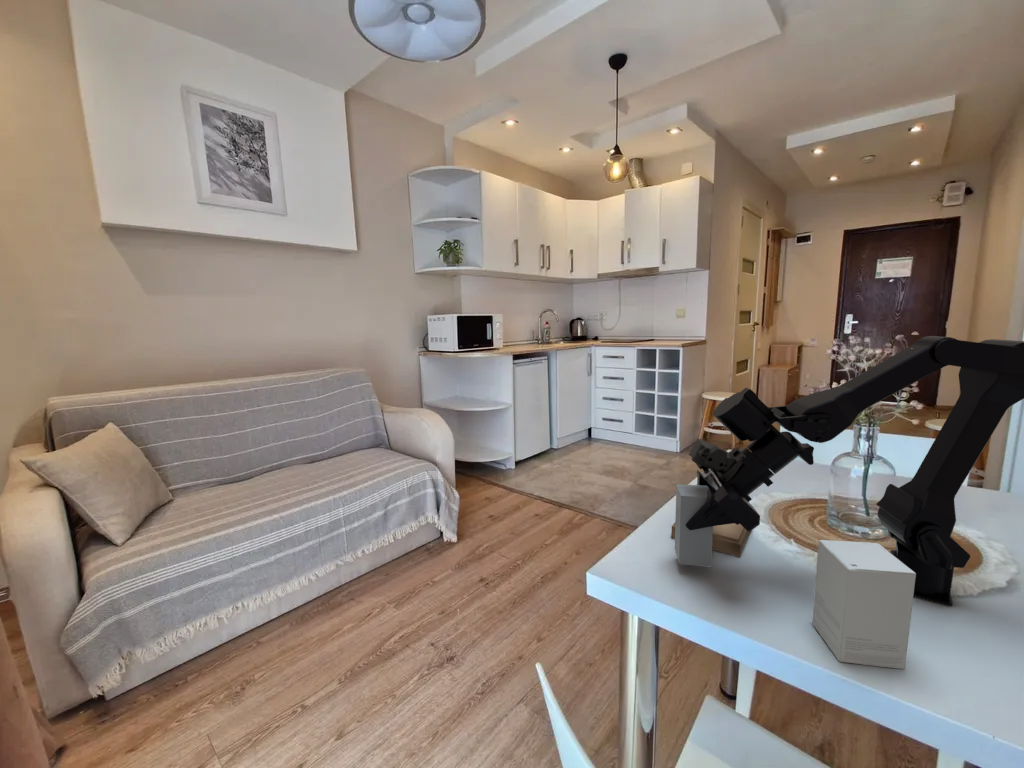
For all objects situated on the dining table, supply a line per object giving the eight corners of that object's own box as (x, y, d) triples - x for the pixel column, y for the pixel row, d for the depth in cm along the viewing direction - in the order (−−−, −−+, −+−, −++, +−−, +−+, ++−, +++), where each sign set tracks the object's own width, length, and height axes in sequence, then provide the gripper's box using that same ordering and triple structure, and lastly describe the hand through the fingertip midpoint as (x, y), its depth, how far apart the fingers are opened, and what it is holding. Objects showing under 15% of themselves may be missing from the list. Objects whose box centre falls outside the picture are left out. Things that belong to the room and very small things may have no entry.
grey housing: (704, 550, 76) (707, 485, 74) (711, 566, 71) (714, 497, 69) (674, 548, 77) (676, 484, 75) (679, 564, 72) (680, 495, 70)
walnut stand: (751, 530, 86) (752, 516, 86) (739, 557, 77) (740, 541, 76) (689, 514, 93) (689, 501, 93) (671, 537, 84) (671, 523, 84)
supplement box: (907, 671, 52) (919, 574, 50) (837, 662, 53) (846, 568, 51) (870, 628, 59) (879, 541, 57) (809, 621, 61) (816, 537, 59)
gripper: (709, 412, 79) (645, 467, 83) (739, 441, 61) (655, 510, 65) (755, 455, 78) (688, 509, 82) (798, 498, 60) (710, 564, 64)
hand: (684, 520), depth 73 cm, fingers closed on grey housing, 5 cm apart
